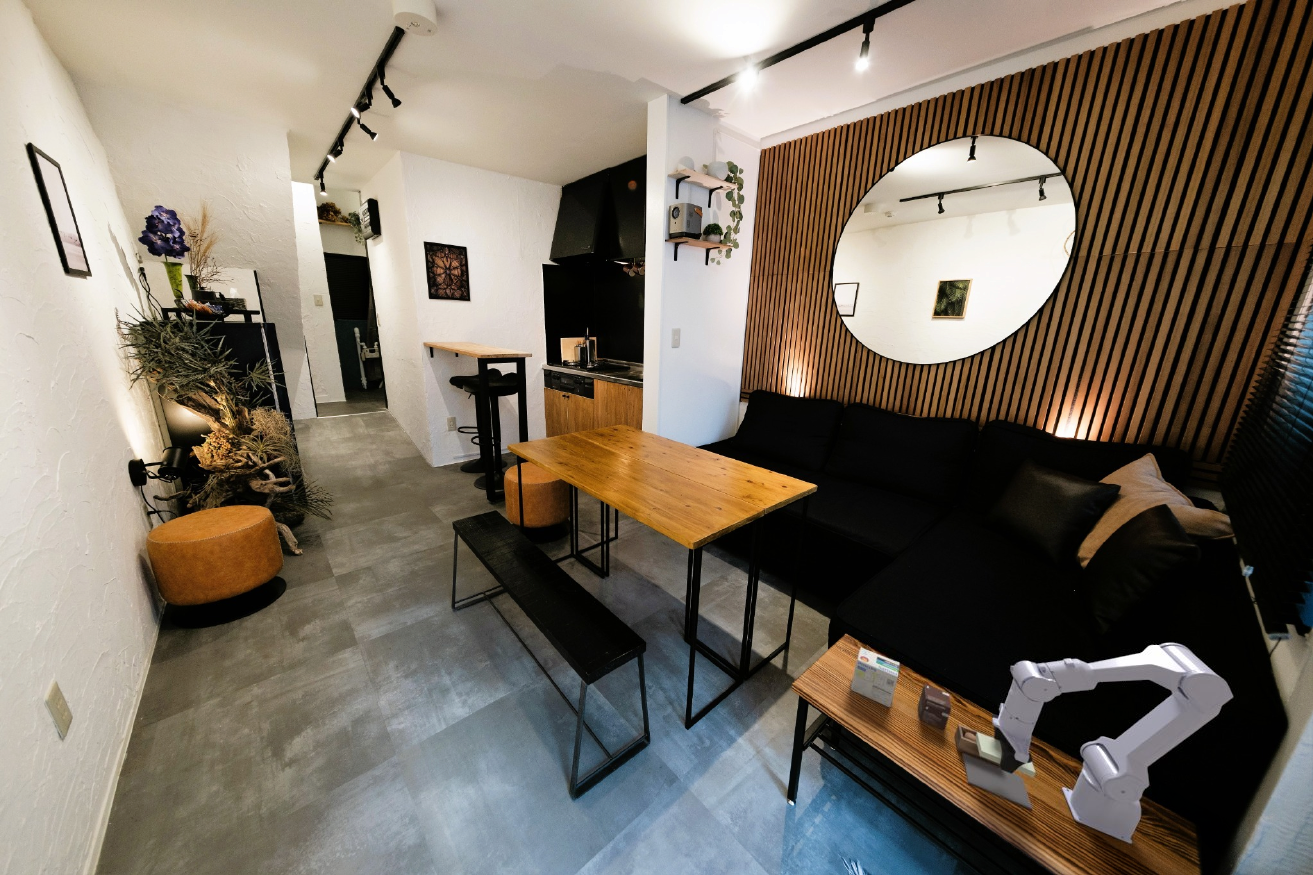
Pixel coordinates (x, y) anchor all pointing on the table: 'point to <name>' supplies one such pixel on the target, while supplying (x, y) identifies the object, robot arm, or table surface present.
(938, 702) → the box
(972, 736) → the crate
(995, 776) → the mat
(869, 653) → the light bulb box
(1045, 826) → the table surface
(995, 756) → the lid
